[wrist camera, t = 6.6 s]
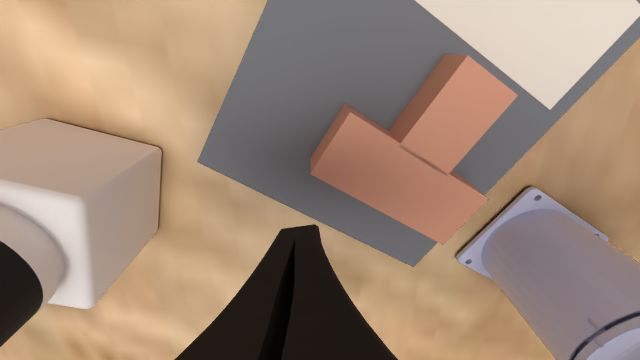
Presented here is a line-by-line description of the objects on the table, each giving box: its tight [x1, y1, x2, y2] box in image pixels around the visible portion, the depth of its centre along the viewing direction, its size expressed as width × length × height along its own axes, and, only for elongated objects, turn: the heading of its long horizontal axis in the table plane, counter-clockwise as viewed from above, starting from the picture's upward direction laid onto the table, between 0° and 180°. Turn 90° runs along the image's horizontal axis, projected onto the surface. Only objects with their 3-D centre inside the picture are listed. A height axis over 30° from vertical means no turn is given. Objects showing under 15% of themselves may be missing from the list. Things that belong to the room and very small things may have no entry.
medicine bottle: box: [0, 119, 162, 347], centre depth 13 cm, size 7×7×12 cm
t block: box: [310, 54, 518, 245], centre depth 16 cm, size 10×9×2 cm
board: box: [197, 0, 640, 267], centre depth 15 cm, size 18×26×1 cm
